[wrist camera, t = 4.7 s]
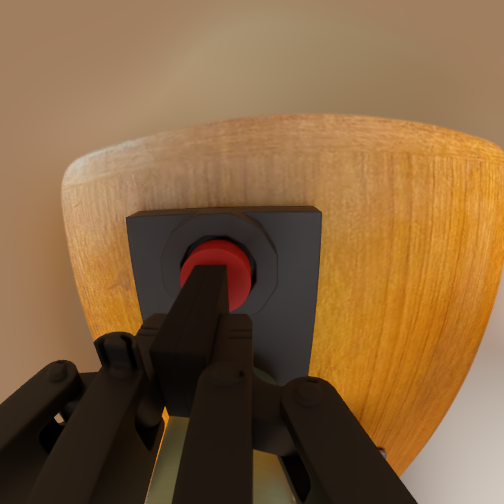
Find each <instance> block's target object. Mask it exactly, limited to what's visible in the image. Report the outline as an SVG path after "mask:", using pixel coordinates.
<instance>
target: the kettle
mask: <svg viewBox="0 0 504 504" xmlns="http://www.w3.org/2000/svg"><path fill="white" fill-rule="evenodd" d="M253 371H254V373H255V374H256V376H258V377H259V378H260V379H261V380H263V381H265V382H267V383H270V384H274V385H278V384H277V382H276V381H275V380H274V379H273V378H272V377H271V376H270V375H268V374H267V373H265V372H264V371H262V370H260V369H258V368H255V367H253ZM278 386H279V385H278ZM188 423H189V418H186V417H176V416H169V420H168V423H167V427H166V430H165V434H164V437H163V441H162V444H161V448H160V452H159V455H158V459H157V463H156V466H155V470H154V474H153V478H152V481H151V485H150V489H149V494H148V498H147V501H146V504H171V503H172V498H173V493H174V488H175V483H176V478H177V473H178V469H179V464H180V459H181V455H182V450H183V445H184V441H185V436H186V432H187V427H188ZM253 504H297V503H296V501H293V495H292V491H291V489H290V486H289V484H288V482H287V479H286V477H285V474H284V472H283V470H282V467H281V465H280V462H279V460H278V457H277V455H274V454H270V453H266V452H262V451H258V450H254V449H253Z"/></svg>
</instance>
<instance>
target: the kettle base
mask: <svg viewBox="0 0 504 504" xmlns="http://www.w3.org/2000/svg"><path fill="white" fill-rule="evenodd" d="M126 225H127V233H128V241H129V248H130V255H131V262H132V268H133V274H134V280H135V285H136V290H137V296H138V301H139V305H140V310H141V315H142V319H143V323H144V321H145V320H146V319H147V318H148V317H150V316H151V315H153V314H154V313H164V314H168V313H169V311H170V309H171V307H172V305H173V303H174V301H175V300H176V298H177V296H178V294H179V292H180V291H181V289H182V288H181V284H180V273H181V270H182V267H183V265H184V263H185V262H186V260H187V259H188V257H189V256H190V254H191V253H192V252H193V250H194V249H195V248H196V247H197V246H199V245H200V244H202V243H203V242H206V241H209V240H215V239H221V240H226V241H230V242H232V243H234V244H236V245H237V246H239V247H240V248H241V249H242V250H243V251H244V252H245V254H246V255H247V257H248V259H249V261H250V265H251V288H250V292H249V295H248V297H247V299H246V300H245V302H244V303H243V304H242V305H241V306H240V307H238V308H237V309H235V310H233V311H231V312H230V314H247V315H248V316H249V317H250V319H251V320H252V325H253V367H255V368H258V369H260V370H262V371H264V372H265V373H267V374H268V375H270V376H271V377H272V378H273V379H274V380H275V381H276V382H277V384H278V385H279V386H284V385H286V384H287V383H288V382H289V381H291V380H293V379H296V378H298V377H306V376H308V372H309V364H310V357H311V349H312V341H313V332H314V323H315V313H316V302H317V291H318V278H319V264H320V247H321V226H322V212H321V211H320V210H318V209H317V208H315V207H313V206H263V207H219V208H192V209H172V210H155V211H139V212H137V213H135V214H132V215H130V216H128V217H126Z"/></svg>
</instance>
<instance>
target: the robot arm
mask: <svg viewBox="0 0 504 504" xmlns="http://www.w3.org/2000/svg"><path fill="white" fill-rule="evenodd" d="M94 345H95V348H96V351H97V354H98V356H99V359H100V361H101V364H102V367H101V369H100V370H99V372H89V373H79V372H78V370H77V368H76V366H75V364H73V363H72V362H71V361H67V360H58V361H55V362H52V363H50V364H48V365H47V366H45V367H44V368H43V369H42V370H40V371H39V372H38V373H37V374H36V375H34V376H33V377H32V378H31V379H30V380H28V381H27V382H26V383H25V384H24V385H22V386H21V387H20V388H19V389H18V390H17V391H15V392H14V393H13V394H12V395H11V396H10V397H8V398H7V399H6V400H5V401H4V402H3V403H2V404H0V504H144V503H145V499H146V495H147V491H148V487H149V483H150V479H151V475H152V472H153V468H154V464H155V461H156V457H157V453H158V450H159V446H160V443H161V439H162V436H163V432H164V426H165V423H164V420H163V418H162V413H163V410H164V407H165V406H166V409H167V412H168V415H169V416H176V417H186V418H189V423H188V427H187V432H186V436H185V441H184V445H183V450H182V455H181V459H180V464H179V469H178V473H177V478H176V483H175V488H174V493H173V498H172V503H171V504H253V449H254V450H258V451H262V452H266V453H270V454H274V455H277V457H278V460H279V462H280V465H281V467H282V470H283V472H284V474H285V477H286V479H287V482H288V484H289V486H290V489H291V491H292V493H293V496H294V498H295V500H296V503H297V504H418V503H417V502H416V500H415V499H414V498H413V497H412V495H411V494H410V492H409V491H408V490H407V488H406V487H405V485H404V484H403V483H402V481H401V480H400V479H399V477H398V476H397V475H396V473H395V472H394V470H393V469H392V468H391V466H390V465H389V464H388V462H387V461H386V459H385V458H384V457H383V455H382V454H381V452H380V451H379V450H378V448H377V447H376V446H375V444H374V443H373V441H372V440H371V439H370V437H369V436H368V434H367V433H366V432H365V430H364V429H363V427H362V426H361V425H360V423H359V422H358V420H357V419H356V418H355V416H354V415H353V413H352V412H351V411H350V409H349V408H348V406H347V405H346V404H345V402H344V401H343V399H342V398H341V396H340V395H339V394H338V392H337V391H336V389H335V388H334V387H333V386H332V385H331V384H330V383H329V382H328V381H325V380H323V379H321V378H317V377H311V376H306V377H298V378H296V379H293V380H291V381H289V382H288V383H287V384H286V385H284V386H278V385H274V384H270V383H267V382H265V381H263V380H261V379H260V378H259V377H258V376H256V374H255V373H254V371H253V325H252V320H251V319H250V317H249V316H248V315H247V314H230V312H229V296H228V278H227V265H195V266H194V267H193V269H192V271H191V273H190V274H189V276H188V278H187V280H186V282H185V283H184V285H183V287H182V289H181V291H180V292H179V294H178V296H177V298H176V300H175V301H174V303H173V305H172V307H171V309H170V311H169V313H168V314H164V313H154V314H153V315H151V316H150V317H148V318H147V319H146V320H145V321H144V323H143V324H142V326H141V329H139V331H138V332H137V335H135V336H133V335H132V334H130V333H127V332H112V333H108V334H105V335H103V336H101V337H99V338H98V339H97V340H95V341H94ZM58 413H59V414H60V415H61V417H62V418H63V420H64V421H63V422H62V423H57V421H56V420H55V419H54V417H55V416H56V415H57V414H58Z"/></svg>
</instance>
